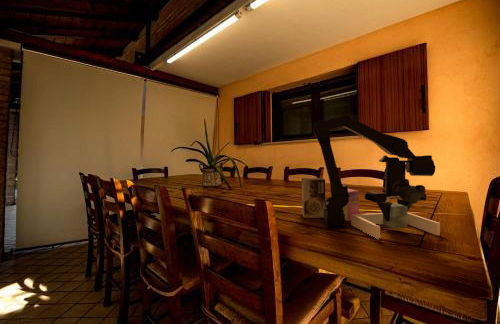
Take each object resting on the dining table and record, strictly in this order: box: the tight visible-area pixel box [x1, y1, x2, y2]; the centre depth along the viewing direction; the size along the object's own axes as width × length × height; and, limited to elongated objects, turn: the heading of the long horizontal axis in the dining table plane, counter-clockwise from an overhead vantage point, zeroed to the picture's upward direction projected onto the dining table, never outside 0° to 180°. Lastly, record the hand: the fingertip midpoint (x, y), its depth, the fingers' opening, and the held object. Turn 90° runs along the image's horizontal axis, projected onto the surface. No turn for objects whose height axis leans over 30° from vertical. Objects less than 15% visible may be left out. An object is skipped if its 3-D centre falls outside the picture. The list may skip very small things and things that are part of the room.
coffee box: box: [301, 177, 326, 219], centre depth 96 cm, size 9×6×16 cm
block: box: [382, 202, 408, 229], centre depth 77 cm, size 5×5×7 cm
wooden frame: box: [350, 211, 441, 240], centre depth 78 cm, size 22×14×4 cm, turn 97°
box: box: [343, 188, 360, 222], centre depth 94 cm, size 10×6×12 cm, turn 17°
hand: (394, 220), depth 77 cm, fingers closed on block, 5 cm apart
